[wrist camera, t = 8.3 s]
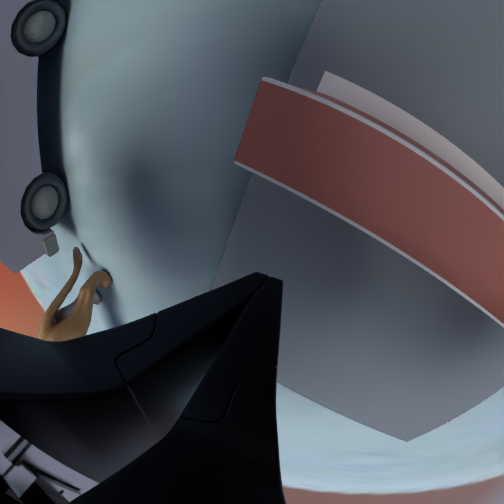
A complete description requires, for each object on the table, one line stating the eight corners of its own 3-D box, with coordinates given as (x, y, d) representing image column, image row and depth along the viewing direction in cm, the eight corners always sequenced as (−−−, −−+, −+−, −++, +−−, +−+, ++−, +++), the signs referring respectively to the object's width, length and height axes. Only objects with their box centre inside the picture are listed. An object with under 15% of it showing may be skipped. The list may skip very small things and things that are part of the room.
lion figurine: (174, 390, 22) (116, 462, 15) (136, 372, 25) (82, 432, 18) (99, 243, 16) (-12, 325, 9) (66, 242, 18) (-21, 304, 11)
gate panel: (561, 272, 5) (605, 360, 1) (540, 299, 5) (574, 392, 2) (324, 92, 6) (262, 76, 3) (307, 133, 7) (233, 164, 4)
